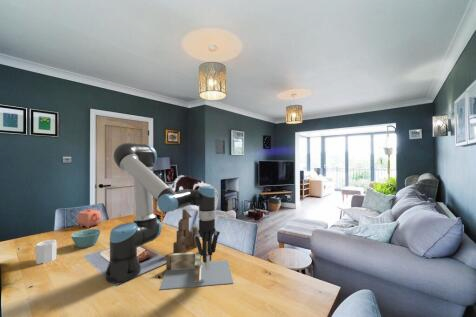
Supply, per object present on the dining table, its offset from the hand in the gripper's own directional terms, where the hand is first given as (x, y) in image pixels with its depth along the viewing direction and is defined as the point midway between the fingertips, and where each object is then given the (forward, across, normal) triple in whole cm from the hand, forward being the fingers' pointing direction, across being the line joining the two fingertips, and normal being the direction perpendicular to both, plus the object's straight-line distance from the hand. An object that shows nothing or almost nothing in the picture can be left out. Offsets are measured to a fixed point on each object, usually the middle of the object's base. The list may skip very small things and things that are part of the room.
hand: (207, 268), depth 101 cm
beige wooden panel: (+4, -6, +14) cm, 16 cm away
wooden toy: (+4, +3, +35) cm, 36 cm away
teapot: (+3, -49, +126) cm, 136 cm away
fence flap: (+4, -3, +4) cm, 6 cm away
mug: (+4, -68, +66) cm, 95 cm away
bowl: (+4, -49, +78) cm, 92 cm away
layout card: (+4, -2, +6) cm, 7 cm away
